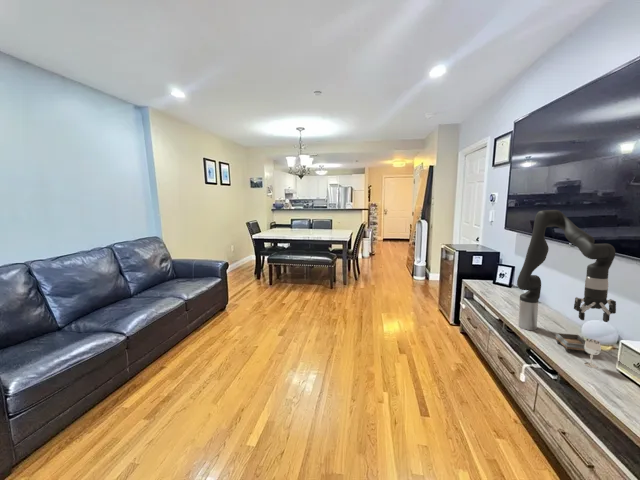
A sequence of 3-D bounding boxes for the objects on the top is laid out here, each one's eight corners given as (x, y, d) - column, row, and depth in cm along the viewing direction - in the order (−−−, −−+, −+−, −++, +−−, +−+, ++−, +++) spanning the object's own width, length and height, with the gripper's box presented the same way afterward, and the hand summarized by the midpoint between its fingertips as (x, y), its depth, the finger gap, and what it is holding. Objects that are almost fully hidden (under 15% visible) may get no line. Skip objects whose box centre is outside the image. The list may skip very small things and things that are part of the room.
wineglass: (582, 365, 132) (584, 341, 130) (582, 360, 136) (584, 337, 134) (599, 370, 127) (601, 345, 126) (599, 365, 131) (601, 341, 130)
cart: (555, 342, 154) (555, 332, 153) (577, 344, 151) (578, 334, 150) (566, 353, 142) (567, 343, 142) (591, 355, 139) (591, 345, 139)
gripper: (610, 285, 128) (607, 318, 130) (572, 283, 133) (570, 316, 135) (622, 290, 121) (618, 325, 123) (581, 288, 126) (578, 322, 128)
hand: (593, 320), depth 129 cm, fingers open, 8 cm apart
